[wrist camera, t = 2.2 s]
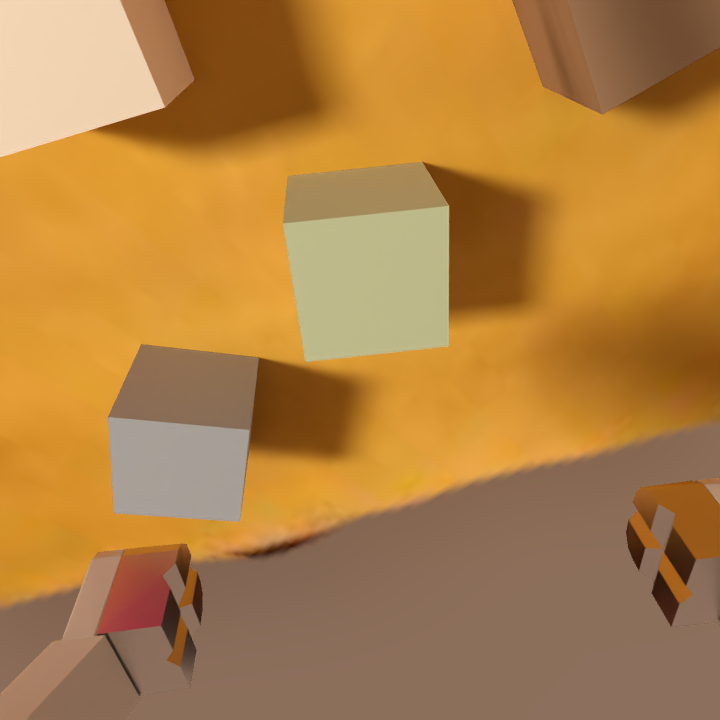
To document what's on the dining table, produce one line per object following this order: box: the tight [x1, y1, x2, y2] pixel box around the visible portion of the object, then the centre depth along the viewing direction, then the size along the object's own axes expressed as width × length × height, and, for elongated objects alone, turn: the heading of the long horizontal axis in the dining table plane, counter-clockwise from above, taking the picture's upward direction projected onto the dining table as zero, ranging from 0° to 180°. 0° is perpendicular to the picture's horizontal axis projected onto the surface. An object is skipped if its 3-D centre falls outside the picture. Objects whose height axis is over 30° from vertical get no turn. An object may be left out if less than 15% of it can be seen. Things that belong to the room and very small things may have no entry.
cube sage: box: [283, 162, 449, 362], centre depth 21 cm, size 5×5×5 cm
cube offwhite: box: [0, 0, 195, 157], centre depth 16 cm, size 5×5×5 cm
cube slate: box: [108, 344, 259, 522], centre depth 25 cm, size 5×5×5 cm
